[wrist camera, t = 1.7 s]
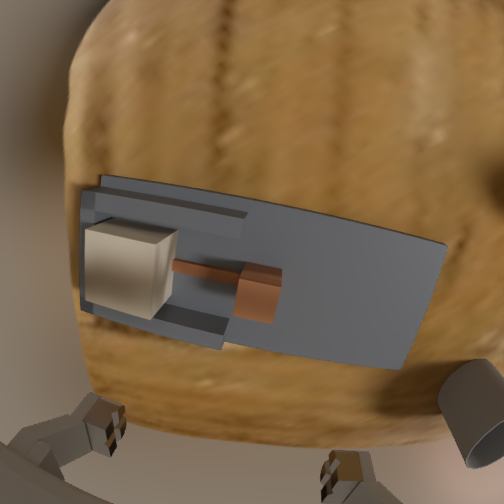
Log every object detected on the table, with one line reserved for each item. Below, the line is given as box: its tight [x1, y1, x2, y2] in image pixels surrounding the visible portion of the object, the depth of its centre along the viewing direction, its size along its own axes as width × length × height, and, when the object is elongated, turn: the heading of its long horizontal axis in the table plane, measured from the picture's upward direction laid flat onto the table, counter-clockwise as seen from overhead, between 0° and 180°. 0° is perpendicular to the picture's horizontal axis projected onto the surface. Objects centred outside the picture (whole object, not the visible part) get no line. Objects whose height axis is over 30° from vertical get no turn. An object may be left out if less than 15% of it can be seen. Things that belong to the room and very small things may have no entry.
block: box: [85, 217, 282, 324], centre depth 24 cm, size 6×15×5 cm, turn 80°
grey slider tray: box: [79, 175, 448, 370], centre depth 26 cm, size 13×31×4 cm, turn 79°
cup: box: [437, 359, 504, 469], centre depth 24 cm, size 8×8×10 cm
